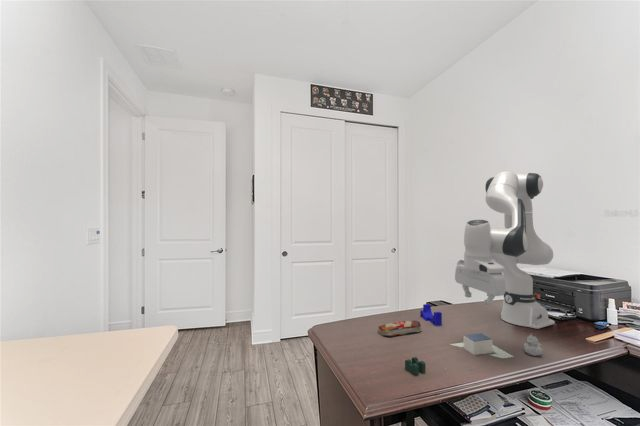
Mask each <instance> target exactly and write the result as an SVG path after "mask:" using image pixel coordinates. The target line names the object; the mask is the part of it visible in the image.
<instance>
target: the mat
mask: <svg viewBox="0 0 640 426" xmlns="http://www.w3.org/2000/svg"><path fill="white" fill-rule="evenodd" d="M449 345H451V346H453V347H454V346H455V347H457V348H460V349H461V348H462V349H464V341H462V342H458V343H449ZM492 348H493V353H486V354H485V355H487V356H491V357H492V356H493V357H495V358H500V359H507V358H514V355H511V354H510V353H508V352H506V351H504V350H503V349H501V348H499V347H498V346H496V345H494V344H492Z"/></svg>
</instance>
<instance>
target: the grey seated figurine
mask: <svg viewBox="0 0 640 426" xmlns="http://www.w3.org/2000/svg"><path fill="white" fill-rule="evenodd" d="M523 349H524V352H525V353H526V354H527V355H529V356H532V357H533V356H534V357H538V356H542V355H543V348H542V344H541V343H540V342H539V340H538V338H537V336H535V335H533V333H530V334H529V335H528V336H527V339H526V342H525V343H524V344H523Z"/></svg>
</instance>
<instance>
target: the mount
mask: <svg viewBox="0 0 640 426" xmlns="http://www.w3.org/2000/svg"><path fill="white" fill-rule="evenodd" d="M404 369H405V370H406V371H408V372H409V373H411V374H413V375H414V376H415V377H416V376H419V375H420V373H421V374H425V373H426V362H425V361H424V360H418V357H416V356H414V357H412V358H411V359H409V358H408V359H406V360H404Z"/></svg>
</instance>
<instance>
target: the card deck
mask: <svg viewBox="0 0 640 426" xmlns="http://www.w3.org/2000/svg"><path fill="white" fill-rule="evenodd" d="M463 342H464V348H463V349H464V350H465V351H467V352H469V353H470V354H472V355H474V356H475V355H476V356H477V355H483V354H484V355H487V354H486V353H493V348H492V345H493V338H491V337H490V336H488V335H485V334H484V333H482V332H481V333H479V332H478V333H471V334H464V335H463Z"/></svg>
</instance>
